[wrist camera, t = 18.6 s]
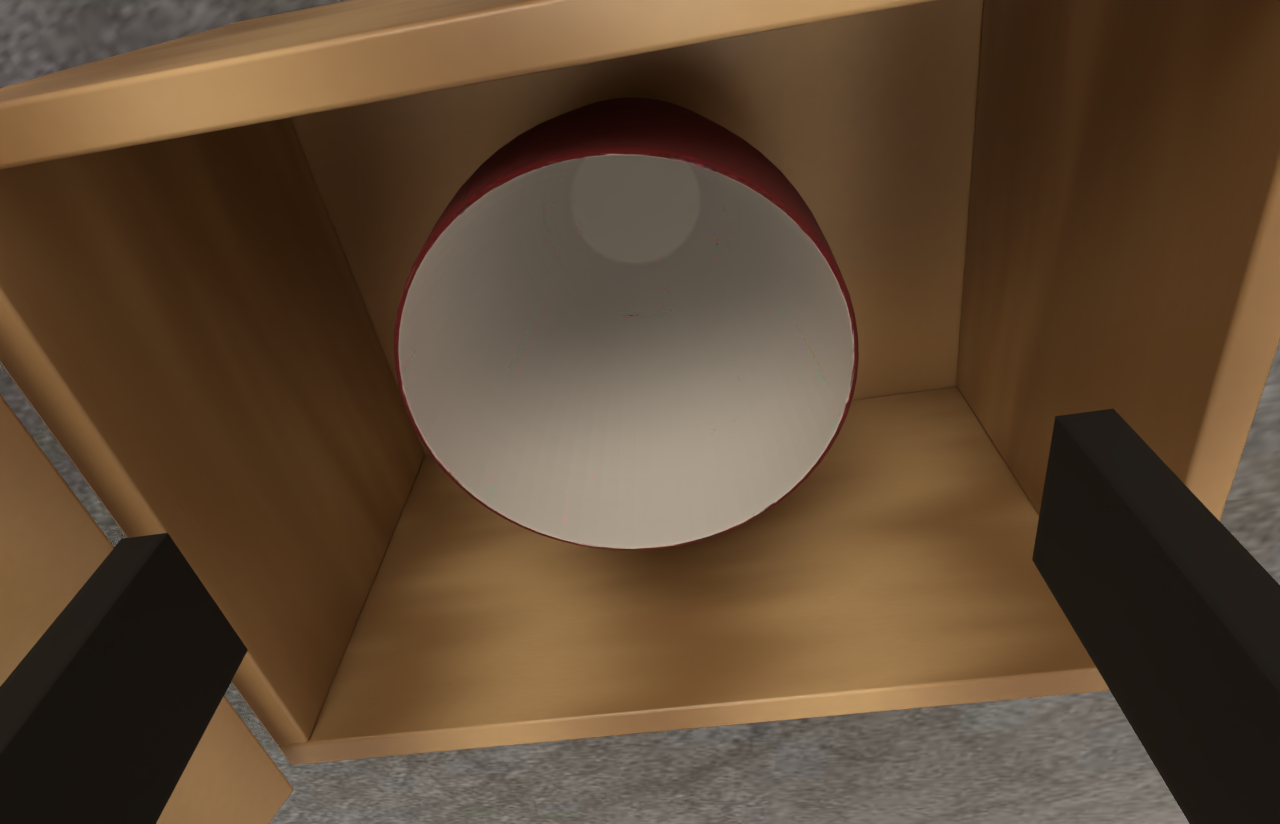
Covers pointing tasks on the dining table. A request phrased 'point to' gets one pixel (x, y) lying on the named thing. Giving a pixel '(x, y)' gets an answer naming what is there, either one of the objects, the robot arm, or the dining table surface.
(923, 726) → the dining table surface
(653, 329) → the mug
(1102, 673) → the robot arm
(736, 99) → the chest
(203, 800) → the lid
